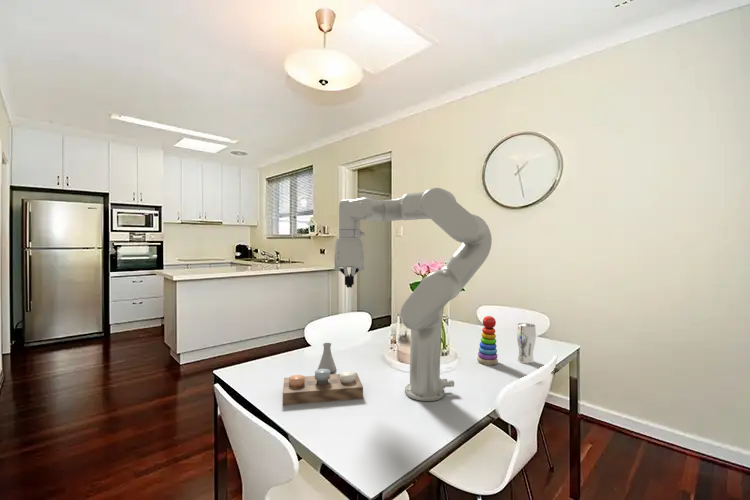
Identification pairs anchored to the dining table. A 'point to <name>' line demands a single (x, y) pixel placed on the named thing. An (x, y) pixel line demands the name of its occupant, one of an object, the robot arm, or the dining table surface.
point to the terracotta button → (296, 380)
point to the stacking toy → (488, 343)
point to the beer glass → (526, 342)
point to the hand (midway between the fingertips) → (349, 286)
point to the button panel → (322, 390)
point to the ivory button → (347, 377)
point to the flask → (327, 359)
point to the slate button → (322, 376)
